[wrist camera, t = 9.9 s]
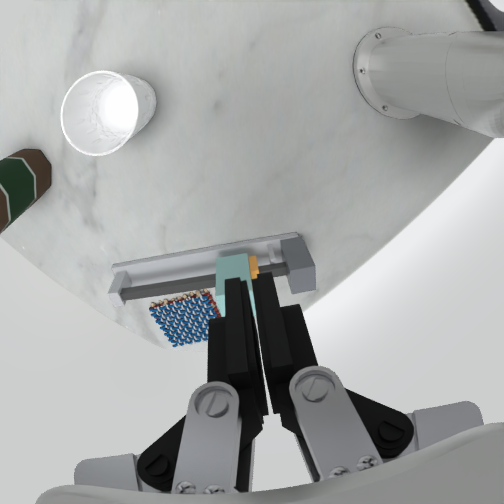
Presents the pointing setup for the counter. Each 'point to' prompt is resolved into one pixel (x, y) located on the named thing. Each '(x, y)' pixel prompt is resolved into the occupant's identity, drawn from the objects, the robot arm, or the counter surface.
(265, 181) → the counter surface
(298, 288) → the teal block rod stand
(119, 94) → the white cup
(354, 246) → the counter surface
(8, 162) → the beer bottle
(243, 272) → the teal sliding block
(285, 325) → the robot arm
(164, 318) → the woven mat
